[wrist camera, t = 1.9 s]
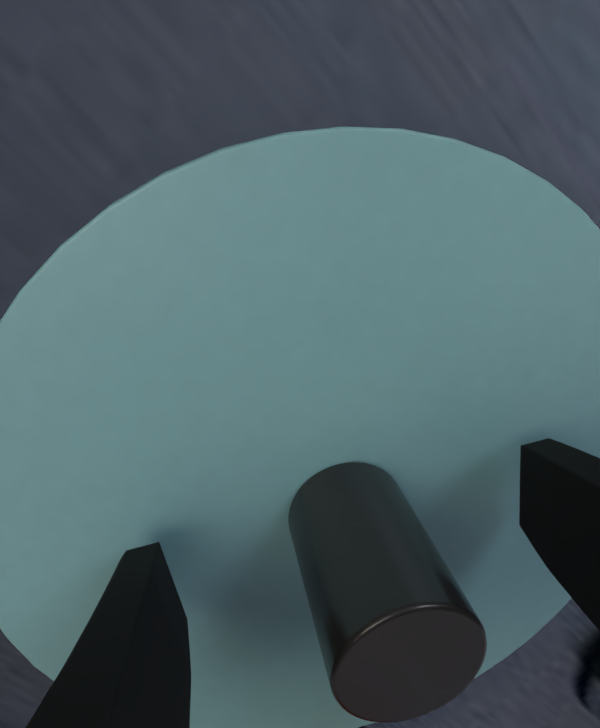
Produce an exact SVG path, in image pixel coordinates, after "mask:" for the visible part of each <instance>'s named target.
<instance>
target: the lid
mask: <svg viewBox="0 0 600 728" xmlns="http://www.w3.org/2000/svg"><path fill="white" fill-rule="evenodd" d="M547 438H550V439H553V440H556V441H558V442H561V443H564V444H566V445H569V446H571V447H574V448H576V449H579V450H581V451H584V452H586V453H589V454H591V455H593V456H596V457H598V458H600V229H599V228H598V227H597V226H596V224H595V223H594V222H593V221H592V220H591V219H590V218H589V216H588V215H587V214H586V213H585V212H584V211H583V210H582V209H581V208H580V207H579V206H577V205H576V204H575V203H574V202H573V201H571V200H570V199H569V198H568V197H566V196H565V195H564V194H563V193H562V192H560V191H559V190H558V189H557V188H555V187H554V186H553V185H552V184H551V183H549V182H548V181H547V180H545V179H543V178H541V177H539V176H538V175H536V174H534V173H532V172H531V171H529V170H527V169H525V168H524V167H522V166H520V165H518V164H517V163H515V162H513V161H511V160H509V159H508V158H506V157H504V156H501V155H498V154H495V153H493V152H490V151H487V150H485V149H482V148H479V147H476V146H474V145H471V144H468V143H465V142H463V141H460V140H457V139H453V138H448V137H443V136H437V135H432V134H427V133H422V132H417V131H412V130H407V129H400V128H374V127H348V126H341V127H331V128H322V129H313V130H304V131H295V132H286V133H278V134H274V135H270V136H266V137H262V138H259V139H255V140H251V141H247V142H243V143H239V144H235V145H232V146H228V147H224V148H220V149H218V150H215V151H213V152H211V153H208V154H206V155H203V156H201V157H199V158H196V159H194V160H192V161H189V162H187V163H184V164H182V165H180V166H177V167H175V168H172V169H170V170H168V171H165V172H163V173H162V174H160V175H158V176H157V177H155V178H153V179H152V180H150V181H148V182H147V183H145V184H143V185H142V186H140V187H138V188H137V189H135V190H133V191H132V192H130V193H128V194H127V195H125V196H123V197H122V198H120V199H118V200H117V201H115V202H113V203H112V204H110V205H109V206H108V207H107V208H106V209H104V210H103V211H102V212H101V213H99V214H98V215H97V216H96V217H95V218H93V219H92V220H91V221H90V222H88V223H87V224H86V225H85V226H84V227H82V228H81V229H80V230H79V231H77V232H76V233H75V234H74V235H73V236H71V237H70V238H69V239H68V240H66V241H65V242H64V243H63V244H62V245H60V247H59V248H58V249H57V250H56V251H55V252H54V253H53V254H52V255H51V256H50V258H49V259H48V260H47V261H46V262H45V263H44V264H43V265H42V266H41V268H40V269H39V270H38V271H37V272H36V273H35V274H34V275H33V276H32V277H31V279H30V280H29V281H28V282H27V283H26V284H25V285H24V286H23V287H22V288H21V290H20V291H19V293H18V294H17V296H16V297H15V299H14V300H13V302H12V303H11V305H10V306H9V308H8V309H7V311H6V312H5V314H4V315H3V317H2V318H1V320H0V629H1V630H2V632H3V633H4V635H5V636H6V637H7V639H8V640H9V641H10V642H11V643H12V644H13V645H14V646H15V647H16V648H17V649H18V650H19V651H20V652H21V653H22V654H23V655H24V656H25V657H26V658H27V659H28V660H29V661H30V662H31V663H32V665H33V666H35V667H36V668H37V669H38V670H40V671H41V672H42V673H44V674H45V675H46V676H48V677H49V678H50V679H51V680H53V681H55V679H56V678H57V676H58V674H59V673H60V671H61V669H62V668H63V666H64V664H65V662H66V661H67V659H68V657H69V655H70V654H71V652H72V650H73V648H74V646H75V645H76V643H77V641H78V639H79V637H80V636H81V634H82V632H83V630H84V628H85V627H86V625H87V623H88V621H89V619H90V617H91V616H92V614H93V612H94V610H95V608H96V606H97V604H98V602H99V600H100V598H101V597H102V595H103V593H104V591H105V589H106V587H107V585H108V583H109V581H110V579H111V577H112V575H113V573H114V571H115V569H116V567H117V565H118V563H119V561H120V559H121V557H122V556H123V554H124V553H125V551H126V550H130V549H134V548H137V547H141V546H145V545H149V544H153V543H156V542H159V543H160V545H161V548H162V551H163V554H164V556H165V559H166V562H167V564H168V567H169V570H170V573H171V575H172V578H173V581H174V584H175V586H176V589H177V592H178V595H179V597H180V600H181V603H182V606H183V608H184V611H185V614H186V617H187V620H188V633H189V646H190V662H191V701H190V727H189V728H358V727H361V726H365V725H369V724H372V723H376V722H398V721H404V720H409V719H412V718H416V717H419V716H422V715H424V714H427V713H429V712H431V711H434V710H436V709H438V708H439V707H441V706H443V705H445V704H446V703H448V702H449V701H451V700H452V699H454V698H455V697H456V696H457V695H459V694H460V693H461V692H462V691H463V690H464V689H465V688H466V687H467V686H468V685H469V684H470V683H471V682H472V681H473V679H474V678H476V677H478V676H479V675H481V674H482V673H484V672H485V671H487V670H488V669H490V668H491V667H493V666H494V665H496V664H497V663H499V662H500V661H502V660H503V659H505V658H506V657H507V656H509V655H510V654H511V653H512V652H514V651H515V650H516V649H518V648H519V647H520V646H521V645H523V644H524V643H525V642H526V641H528V640H529V639H530V638H531V637H533V636H534V635H535V634H536V633H537V632H538V631H539V630H540V629H541V628H542V627H543V626H545V625H546V624H547V623H548V622H549V621H550V620H551V619H552V618H553V617H554V616H555V615H556V614H557V613H558V612H559V611H560V610H561V609H562V608H563V607H564V606H565V605H566V604H567V602H568V601H569V600H570V599H571V596H570V595H569V594H568V593H567V592H566V590H565V589H564V588H563V587H562V586H561V584H560V583H559V582H558V581H557V580H556V578H555V577H554V576H553V575H552V573H551V572H550V571H549V570H548V568H547V567H546V565H545V564H544V562H543V561H542V559H541V558H540V556H539V555H538V553H537V552H536V550H535V549H534V547H533V546H532V544H531V543H530V541H529V539H528V538H527V536H526V535H525V533H524V532H523V530H522V528H521V527H520V525H519V510H520V448H521V445H525V444H528V443H532V442H536V441H540V440H543V439H547Z"/></svg>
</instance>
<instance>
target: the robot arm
mask: <svg viewBox="0 0 600 728" xmlns="http://www.w3.org/2000/svg"><path fill="white" fill-rule="evenodd" d="M519 525H520V527H521V528H522V530H523V532H524V533H525V535H526V536H527V538H528V539H529V541H530V543H531V544H532V546H533V547H534V549H535V550H536V552H537V553H538V555H539V556H540V558H541V559H542V561H543V562H544V564H545V565H546V567H547V568H548V570H549V571H550V572H551V573H552V575H553V576H554V577H555V578H556V580H557V581H558V582H559V583H560V584H561V586H562V587H563V588H564V589H565V590H566V592H567V593H568V594H569V595H570V596H571V598H572V599H573V600H574V601H575V602H576V604H577V605H578V606H579V607H580V608H581V609H582V611H583V612H584V613H585V614H586V615H587V617H588V618H589V619H590V620H591V621H592V622H593V624H594V625H595V626H596V627H597V628H598V629H599V631H600V458H598V457H596V456H593V455H591V454H589V453H586V452H584V451H581V450H579V449H576V448H574V447H571V446H569V445H566V444H564V443H561V442H558V441H556V440H553V439H550V438H547V439H543V440H540V441H536V442H532V443H528V444H525V445H521V448H520V510H519ZM190 701H191V662H190V646H189V633H188V620H187V617H186V614H185V611H184V608H183V606H182V603H181V600H180V597H179V595H178V592H177V589H176V586H175V584H174V581H173V578H172V575H171V573H170V570H169V567H168V564H167V562H166V559H165V556H164V554H163V551H162V548H161V545H160V543H159V542H156V543H153V544H149V545H145V546H141V547H137V548H134V549H130V550H126V551H125V553H124V554H123V556H122V557H121V559H120V561H119V563H118V565H117V567H116V569H115V571H114V573H113V575H112V577H111V579H110V581H109V583H108V585H107V587H106V589H105V591H104V593H103V595H102V597H101V598H100V600H99V602H98V604H97V606H96V608H95V610H94V612H93V614H92V616H91V617H90V619H89V621H88V623H87V625H86V627H85V628H84V630H83V632H82V634H81V636H80V637H79V639H78V641H77V643H76V645H75V646H74V648H73V650H72V652H71V654H70V655H69V657H68V659H67V661H66V662H65V664H64V666H63V668H62V669H61V671H60V673H59V674H58V676H57V678H56V679H55V681H54V682H53V684H52V686H51V687H50V689H49V691H48V692H47V694H46V695H45V697H44V699H43V700H42V702H41V704H40V705H39V707H38V709H37V710H36V712H35V713H34V715H33V717H32V718H31V720H30V721H29V723H28V725H27V726H26V728H189V727H190Z"/></svg>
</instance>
